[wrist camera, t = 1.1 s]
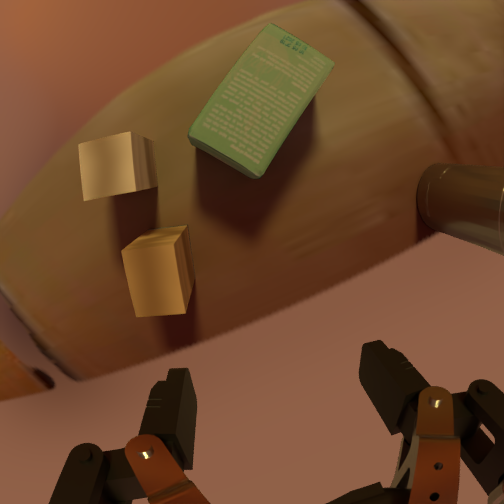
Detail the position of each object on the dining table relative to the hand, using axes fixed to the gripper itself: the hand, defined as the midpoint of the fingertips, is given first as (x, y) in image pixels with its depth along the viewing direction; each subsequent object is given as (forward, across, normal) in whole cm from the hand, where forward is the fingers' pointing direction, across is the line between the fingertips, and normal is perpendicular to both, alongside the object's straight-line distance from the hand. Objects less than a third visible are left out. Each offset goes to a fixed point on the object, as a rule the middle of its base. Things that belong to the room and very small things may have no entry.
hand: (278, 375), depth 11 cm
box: (+22, -2, -15) cm, 27 cm away
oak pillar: (+22, +8, 0) cm, 23 cm away
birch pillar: (+22, +11, -10) cm, 26 cm away
